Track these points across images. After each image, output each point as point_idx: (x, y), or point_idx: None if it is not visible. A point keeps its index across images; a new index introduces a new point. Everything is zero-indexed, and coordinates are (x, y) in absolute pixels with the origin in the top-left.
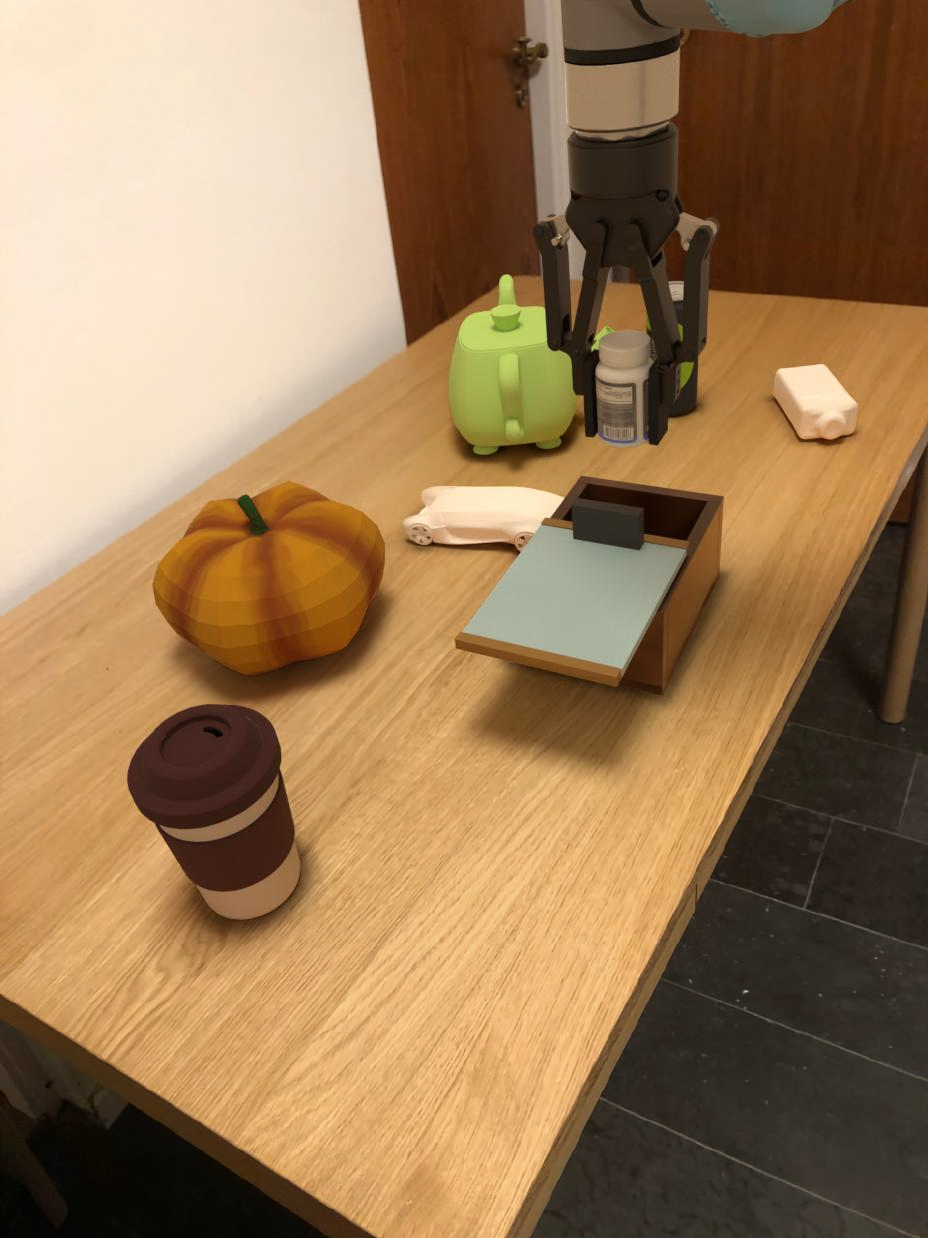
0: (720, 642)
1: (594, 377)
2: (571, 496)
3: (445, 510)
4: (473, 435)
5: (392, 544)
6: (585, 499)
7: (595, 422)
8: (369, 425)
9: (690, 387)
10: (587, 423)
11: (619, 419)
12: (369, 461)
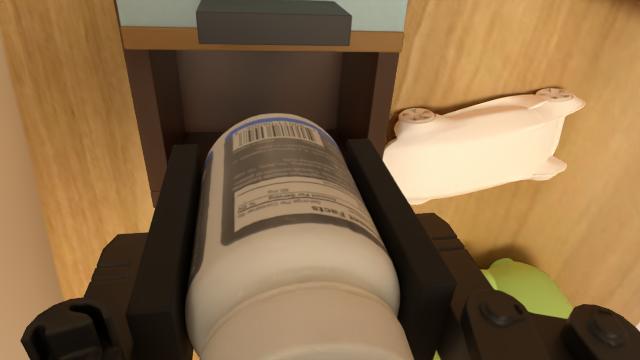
0: (109, 7)
1: (393, 259)
2: (376, 144)
3: (538, 126)
4: (526, 267)
5: (581, 79)
6: (329, 44)
7: (354, 171)
8: (628, 266)
9: None
10: (372, 156)
11: (271, 150)
12: (623, 214)
